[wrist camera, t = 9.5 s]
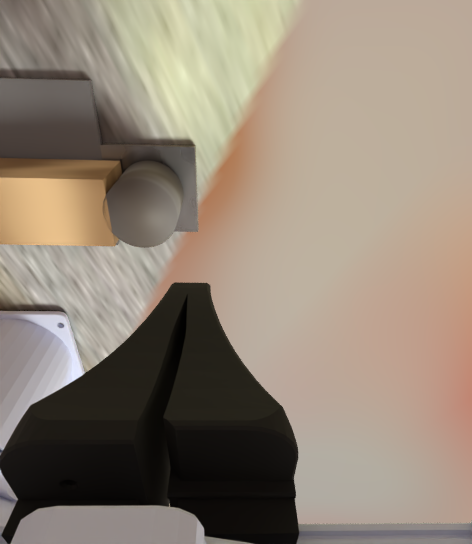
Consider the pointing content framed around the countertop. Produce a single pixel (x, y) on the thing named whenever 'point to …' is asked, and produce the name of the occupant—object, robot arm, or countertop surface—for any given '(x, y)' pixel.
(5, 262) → the countertop surface
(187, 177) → the hinge bracket
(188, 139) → the countertop surface
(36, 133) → the seat mat
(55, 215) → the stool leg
